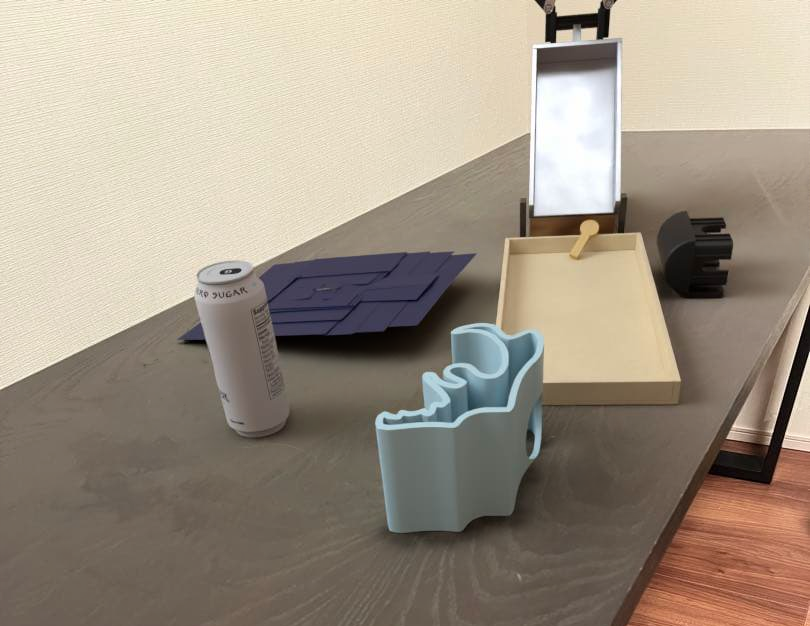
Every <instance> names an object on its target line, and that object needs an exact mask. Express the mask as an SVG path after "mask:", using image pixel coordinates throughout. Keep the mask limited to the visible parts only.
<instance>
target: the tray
mask: <svg viewBox="0 0 810 626" xmlns="http://www.w3.org/2000/svg"><path fill="white" fill-rule="evenodd" d="M579 236H580V235H568V236H543V237H530V236H526V237H520V236H519V237H505V240H504V249H503V257H502V266H501V273H500V274H501V275H500V276H501V277H500V285H499V293H498V302H497V311H496V320H495V325H496V326H498V327H499V328H500V329H501V330H502V331H503V332H504V333H505V334H507V335H510V336H511V335H515V334H518V333H520V332H522V331H525V330H527V329H534V330H537V331H539V332H540V333H541V334H542V335H543V338H544V367H543V398H542V406H614V405H615V406H618V405H623V406H624V405H632V406H633V405H639V406H640V405H678V404H679V399H680V391H681V386H682V385H681V384H682V379H681V376H680V371H679V368H678V364H677V360H676V357H675V353H674V350H673V346H672V342H671V338H670V335H669V330H668V327H667V323H666V319H665V316H664V314H663V312H664V311H663V309H662V308H663V307H662V304H661V301H660V298H659V294H658V289H657V286H656V283H655V280H654V276H653V275H654V274H653V272H652V268H651V264H650V260H649V257H648V254H647V250H646V246H645V243H644V239H643V238H644V237H643V235H642V232H624V233H618V234H617V233H614V234H597V235H596V236H594V237H592V238H589V240H588V242H587V244H586V245H585V247H584V249H583V251H582V252H581V254H580V256H579V257H578V259H574V258H572V257H570V256H569V253H570V252H571V250H572V248H573V247H574V245H575V243H576V241H577V240H578V238H579Z"/></svg>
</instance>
